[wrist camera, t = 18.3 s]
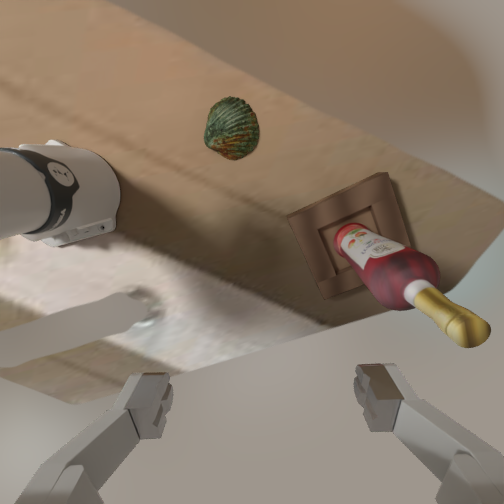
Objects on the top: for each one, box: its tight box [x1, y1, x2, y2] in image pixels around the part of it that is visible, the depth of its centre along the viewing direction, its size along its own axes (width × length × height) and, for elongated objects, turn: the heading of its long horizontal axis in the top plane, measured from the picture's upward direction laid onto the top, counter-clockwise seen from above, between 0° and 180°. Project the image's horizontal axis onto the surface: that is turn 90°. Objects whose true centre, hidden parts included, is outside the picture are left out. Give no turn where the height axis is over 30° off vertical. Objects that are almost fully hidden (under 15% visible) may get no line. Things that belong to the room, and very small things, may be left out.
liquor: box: [333, 223, 491, 348], centre depth 32 cm, size 7×7×28 cm
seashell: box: [204, 97, 259, 160], centre depth 41 cm, size 10×4×10 cm
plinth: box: [286, 172, 412, 300], centre depth 45 cm, size 18×18×4 cm
